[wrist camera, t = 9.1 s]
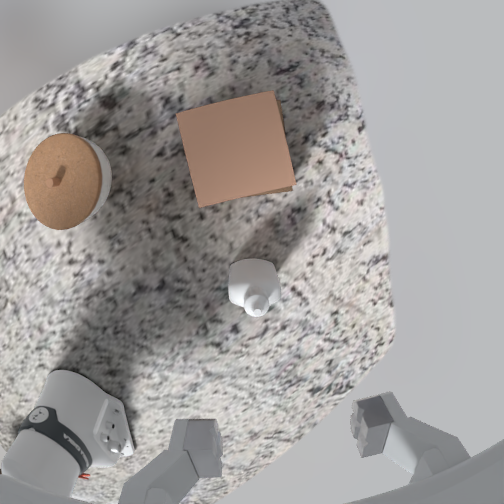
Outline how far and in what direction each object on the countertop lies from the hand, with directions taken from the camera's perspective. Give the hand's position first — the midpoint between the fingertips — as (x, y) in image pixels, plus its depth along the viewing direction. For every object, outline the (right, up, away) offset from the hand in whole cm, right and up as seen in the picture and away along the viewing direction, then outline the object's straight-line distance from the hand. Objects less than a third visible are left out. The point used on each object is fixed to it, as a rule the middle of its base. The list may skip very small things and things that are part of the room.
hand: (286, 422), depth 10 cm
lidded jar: (-23, +16, +26) cm, 38 cm away
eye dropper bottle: (-1, +4, +30) cm, 30 cm away
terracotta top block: (-3, +17, +21) cm, 27 cm away
